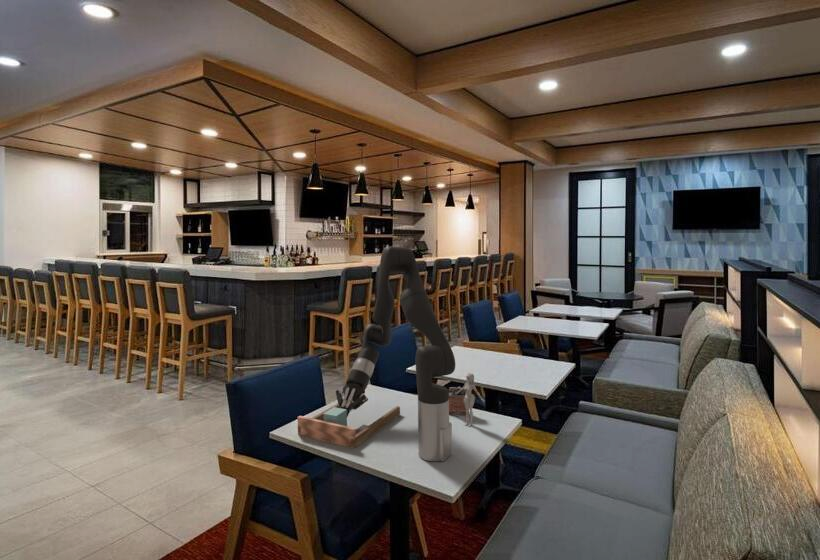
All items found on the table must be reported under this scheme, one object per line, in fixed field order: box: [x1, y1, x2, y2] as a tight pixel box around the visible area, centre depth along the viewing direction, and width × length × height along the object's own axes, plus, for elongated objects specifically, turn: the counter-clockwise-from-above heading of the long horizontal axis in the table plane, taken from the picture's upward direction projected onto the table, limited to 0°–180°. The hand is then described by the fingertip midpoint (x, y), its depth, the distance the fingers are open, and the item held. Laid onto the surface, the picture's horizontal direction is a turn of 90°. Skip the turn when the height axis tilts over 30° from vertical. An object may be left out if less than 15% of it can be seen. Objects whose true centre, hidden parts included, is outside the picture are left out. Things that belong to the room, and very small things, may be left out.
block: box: [324, 407, 348, 426], centre depth 153 cm, size 5×6×8 cm
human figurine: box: [455, 372, 486, 428], centre depth 159 cm, size 12×4×18 cm, turn 47°
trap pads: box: [356, 424, 369, 434], centre depth 159 cm, size 18×8×1 cm, turn 62°
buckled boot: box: [448, 386, 466, 417], centre depth 169 cm, size 8×3×10 cm, turn 84°
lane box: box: [297, 403, 401, 449], centre depth 161 cm, size 22×29×6 cm
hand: (341, 419), depth 156 cm, fingers closed
